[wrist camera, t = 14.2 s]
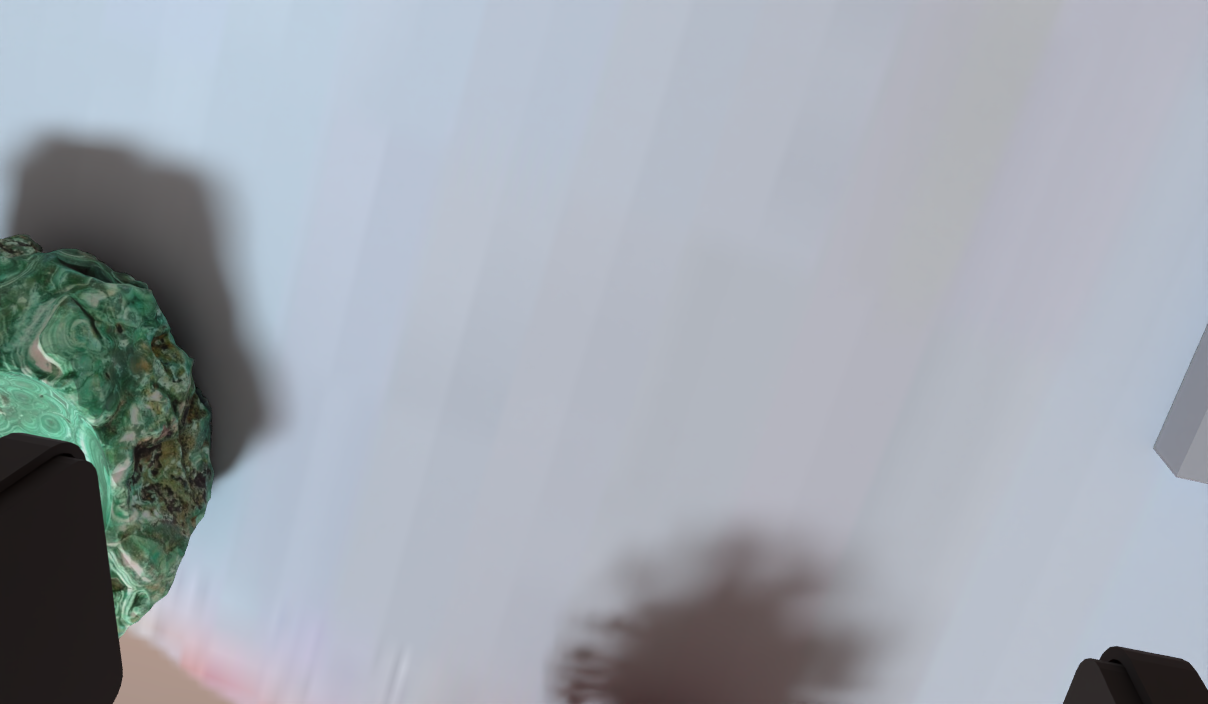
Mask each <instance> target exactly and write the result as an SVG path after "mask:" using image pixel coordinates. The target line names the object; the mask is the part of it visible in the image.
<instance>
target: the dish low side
mask: <svg viewBox="0 0 1208 704" xmlns="http://www.w3.org/2000/svg"><path fill="white" fill-rule="evenodd" d="M1153 449H1154V450H1155V451H1156V453H1157V454H1158V455H1159V456H1160V458H1161V459H1162V460H1163V461H1164V463H1165V464H1166V465H1167V466H1168V468H1169V469H1170V470H1171V471H1172V473H1173V474H1174V475H1175V476H1176V477H1178V478H1183V479H1188V480H1192V481H1197V482H1202V483H1206V484H1208V325H1207V327H1206V329H1205V332H1204V334H1203V336H1202V338H1201V341H1200V343H1199V345H1198V348H1197V350H1196V352H1195V354H1194V357H1193V359H1192V361H1191V363H1190V366H1189V368H1188V370H1187V373H1186V375H1185V377H1184V379H1183V382H1182V384H1181V386H1180V388H1179V391H1178V393H1177V395H1176V398H1175V400H1174V402H1173V404H1172V407H1171V409H1170V411H1169V413H1168V416H1167V418H1166V420H1165V423H1164V425H1163V427H1162V429H1161V432H1160V434H1159V436H1158V439H1157V441H1156V443H1155V445H1154V448H1153Z"/></svg>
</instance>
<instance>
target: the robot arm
mask: <svg viewBox="0 0 1208 704" xmlns="http://www.w3.org/2000/svg"><path fill="white" fill-rule="evenodd" d="M122 670H123V669H122V661H121V653H120V645H119V637H118V629H117V621H116V614H115V606H114V598H113V590H112V582H111V575H110V567H109V559H108V551H107V543H106V536H105V528H104V520H103V512H102V504H101V496H100V489H99V481H98V475H97V471H96V468H95V467H94V465H93V464H92V463H91V462H89V461H86V458H85V454H84V452H83V451H82V450H81V448H80V447H79V446H78V445H76V444H74V443H72V442H68V441H63V440H57V439H52V438H47V437H42V436H37V435H32V434H27V433H10V434H8V435H6V436H3V437H1V438H0V704H113V702H114V700H115V698H116V696H117V694H118V692H119V689H120V686H121V682H122V677H123V675H122V674H123V672H122ZM1063 704H1208V690H1207V688H1206V687H1205V685H1204V683H1203V681H1202V680H1201V678H1200V676H1199V675H1198V673H1197V671H1196V670H1195V669H1194V668H1193V667H1192V665H1191V664H1190V663H1189V662H1187V661H1185V660H1183V659H1180V658H1175V657H1170V656H1165V655H1159V654H1154V653H1149V652H1144V651H1139V650H1134V649H1129V648H1124V647H1118V646H1115V647H1109V648H1108V649H1107V650H1106V651H1105V652H1104V653H1103V654H1102V656H1101V658H1100V660H1096V659H1091V658H1089V659H1085V660H1084V661H1082V662H1081V663H1080V665H1079V667H1078V669H1077V670H1076V673H1075V675H1074V678H1073V680H1072V683H1071V685H1070V688H1069V690H1068V693H1067V695H1066V697H1065V700H1064V702H1063Z"/></svg>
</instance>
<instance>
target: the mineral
mask: <svg viewBox="0 0 1208 704" xmlns="http://www.w3.org/2000/svg"><path fill="white" fill-rule="evenodd" d="M170 330H171V328H170V326H169V324H168V323H167V319H166V318H165V316H164V315H163V313H162V312H161V310H160V308H159V306H158V304H157V302H156V299H155V298H154V296H153V293H152V290H150V289H148V286H147V284H146V283H144V282H141V281H136V280H135V279H134V278H133V277H131V276H130V275H128V274H127V273H118V272H115V271H113V270H112V269H111V268H110V267H109V266H107V265H106V264H105V263H104V262H102V261H99V260H97V259H96V257H95V256H94V255H91V254H89V253H88V252H86V253H85V252H83V251H80V250H78V249H59V250H56V251H53V252H49V253H42V247H41V246H39V245H38V244H36V243H35V242H34V241H33V240H32V239H31V238H30V236H29V235H25V234H21V235H15V236H12V237H8V238H4V239H0V438H1V437H3V436H6V435H8V434H10V433H27V434H32V435H37V436H42V437H47V438H52V439H57V440H63V441H68V442H72V443H74V444H76V445H78V446H79V447H80V448H81V450H82V451H83V452H84V454H85V458H86V461H89V462H91V463H92V464H93V465H94V467H95V468H96V471H97V475H98V481H99V489H100V496H101V504H102V512H103V520H104V528H105V536H106V543H107V551H108V559H109V567H110V575H111V582H112V590H113V598H114V606H115V614H116V621H117V629H118V637H119V638H120V637H121V636H122V635H123V634H124V633H125V631H126V630H127V628H128V627H129V626H130V625H132V624H134V623H136V622H138V621H139V620H140V619H141V618H142V617H143V616H144V615H145V614H146V613H147V612H148V611H149V610H150V609H151V608H152V606H153V605H154V604H155V603H156V602H157V601H159V600H160V599H162V598H163V597H165V596H166V595H167V593H168V591H169V589H170V587H171V585H172V583H173V581H174V578H175V575H176V572H177V569H178V567H179V564H180V562H181V560H182V558H183V556H184V554H185V551H186V549H187V546H188V542H189V539H190V536H191V534H192V533H193V531H194V529H195V528H196V525H197V524H198V523H199V522H200V521H201V519H202V518H203V517H204V514H205V511H206V507H207V503H208V501H209V499H210V498H211V488H212V482H213V477H214V471H213V468H212V465H211V461H210V457H209V455H210V450H211V438H210V436H211V433H212V432H211V431H212V425H211V423H210V422H211V421H212V412H211V407H210V405H209V403H208V400H207V399H206V398H204V397H203V396H202V394H201V392H202V391H201V390H200V389H198V388H197V387H195V384H194V380H193V377H192V374H191V373H192V366H193V364H194V362H195V360H194V359H193V358H190V357H188V355H187V354H186V352H184V351H183V350H182V348H179V347H178V346H177V345H176V344H175V341H174V338H173V336H172V334H171V333H170Z"/></svg>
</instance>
